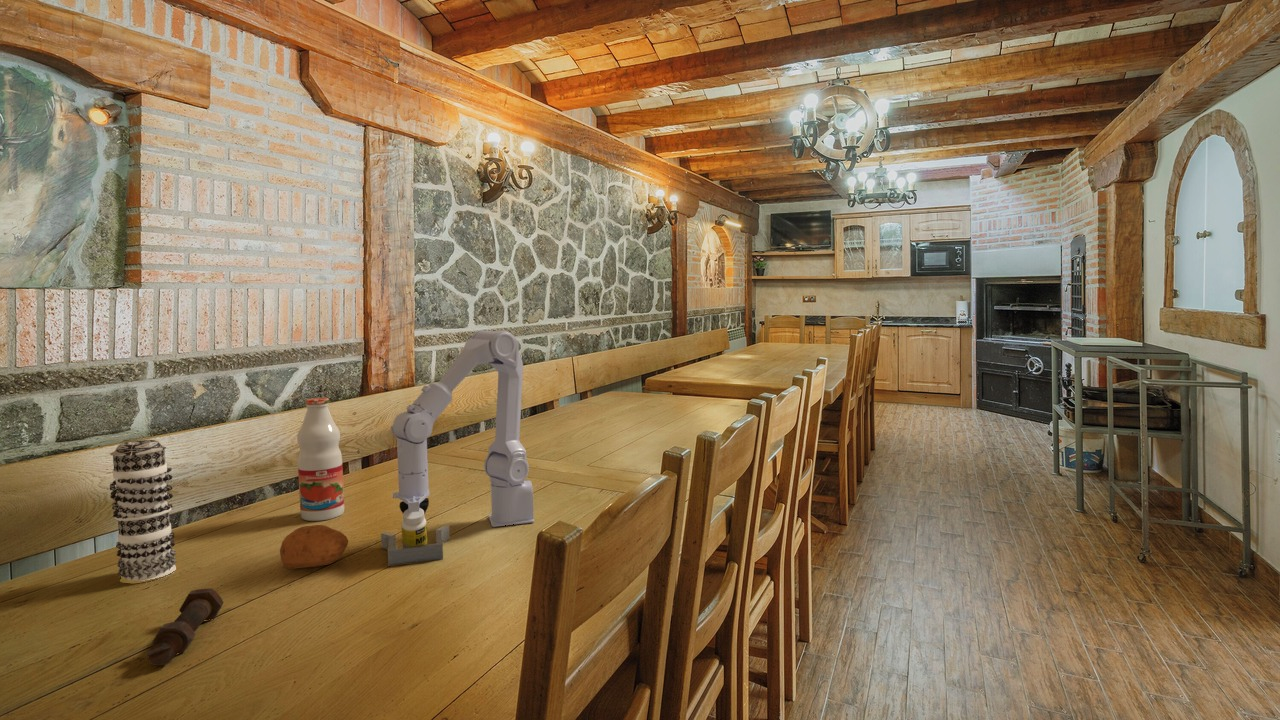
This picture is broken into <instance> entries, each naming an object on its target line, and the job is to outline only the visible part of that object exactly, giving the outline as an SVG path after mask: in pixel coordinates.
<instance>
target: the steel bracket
mask: <svg viewBox="0 0 1280 720" xmlns="http://www.w3.org/2000/svg"><path fill="white" fill-rule="evenodd" d="M380 539H381V541H380V542H381V548H382V549H386V550H387V564H388V566H387V567H393V566H400V565H407V564H408V565H409V564H416V563H423V562H424V563H425V562H431V561H439V560H444V550H443V547H444V545H443V543H445V542H447V541H449V540H450V525H449V524H448V525H447V524H444V525H442V526H441V527H438V528H437V529H435V543H427V544H426V545H418V546H410V547H402V546H401V547H396V546H397V544H396V543H397V541H396V539H397V538H396V534H394V533H390V532H387V531H384V532H381V533H380Z"/></svg>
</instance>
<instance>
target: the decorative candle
mask: <svg viewBox="0 0 1280 720" xmlns="http://www.w3.org/2000/svg"><path fill="white" fill-rule="evenodd" d="M166 449H167V446H165V445H162V444H161V443H160V442H159V441H158V440H155V439H139V440H132V441H126V442H122V443H120V444H118V445H117V446H116V449H115V450H114V451H112V452H110V454H109V455H110V456H112V463H113V464H112V465H113V469H112V478H113V479H114V480H113V481H112V482H111V483H110V484H109V490H110V491H111V492H110V496H109V498H110V499H113V500H114V502H113V503H112V504H111V506H112V507H111V509H112V510H113V512H112V514H113V515H112V517H113V518H114V520H116V521H117V525H118V526H117V527H118V532H117V542H116V545H115V547H116V549H119V550H117V551H116V556H117V557H120V558H119V559H118V560H117V563H116V564H117V567H118V571H117V575H119V577H120V576H122V577H123V578H125V579H127V580H132V581H138V580H139V581H145V580H150V579H155V578H159V577H163V576H165V575H168V574H170V573H172V572H173V571H175V570H176V571H177V567H176V566H177V565H176V563H177V558H176V557H175V556H176V555H177V553H176V551H177V550H176V549H174V548H173V547H174V546H176V544H175V542H176V541H175V540H173V539H174V538H175V533H174V532H173V531H172V523H171V521H170V512H171V511H172V508H173V504H171V503H169V502H168V500H171V499H172V498H173V497H174V496H173V494H172V493H171V492H170V491H171V490H173V486H172V485H169V483H167V481H168V482H169V481H171V480H172V479H173V475H172V474H170V472H172V467H168V465H167V464H168V463H167V462H166V454H165V453H166V451H165V450H166ZM169 492H170V493H169ZM176 571H175V572H176ZM173 573H174V572H173ZM173 573H172V574H173ZM168 576H169V575H168Z"/></svg>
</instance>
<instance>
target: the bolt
mask: <svg viewBox="0 0 1280 720" xmlns="http://www.w3.org/2000/svg"><path fill="white" fill-rule="evenodd" d="M223 605H224V601H223V599H222V597H221V596H220V594H219V593H218V592H217V591H216V590H215V589H214V588H209V587H208V588H199V589H193V590H190V592H189V593H187V596H186V597H185V600H184V601H183V602H182V605H181V607H180V608H179V610H178V611H179V612H180V615H178V617H177V618H175V620H174V621H171V622H168V623H164V624H163V625H162V626H161V627H160V628H159V630H158V632H157V633H156V635H155V636H154V639H153V640H152V646H150V648H149V650H148V651H147V654H146V656H147V660H148V662H149V663H150V664H152V665H155V666H165V665H167V664H168V663H170V662H171V661H172V660H173V659H174V657H175V656H177V655H176V654H177V653H182V652H184V651H185V650H186V649H188V648H189V647H190V645H191V644H192V642H193V640H194V638H195V637H196V633H195V632H196V631H197V629H198V628H199V627H200V626H201V624H203V621H204V620H209V619H210V620H211V619H215V618H216V617H217V615H218V614H219V612H220V610H221V609H222V607H223ZM188 646H189V647H188ZM186 651H187V650H186ZM186 651H185V652H186ZM185 652H184V653H185ZM182 654H183V653H182Z"/></svg>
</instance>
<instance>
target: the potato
mask: <svg viewBox="0 0 1280 720" xmlns="http://www.w3.org/2000/svg"><path fill="white" fill-rule="evenodd" d="M348 545H349V539H348V537H347V536H346V535H345V534H344V533H343V532H342V531H340V530H337V529H334V528H331V527H329V526H327V525H323V524H313V525H305V526H304V525H303V526H300V527H298V528H296V529H294V530H293V531H291V532H290V533H289V534H287V535H286V536H285V537H284V539H283V540H282V541H281V545H280V548H279V554H280V561H281V563H282V565H284V567H286V568H287V569H300V568H302V569H303V568H317V567H322V566H328V565H331V564H333V563H335V562H337V560H339V559H340V558H341V557H342V556H343V554H344V553H345V551H346V549H347V548H348Z"/></svg>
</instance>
